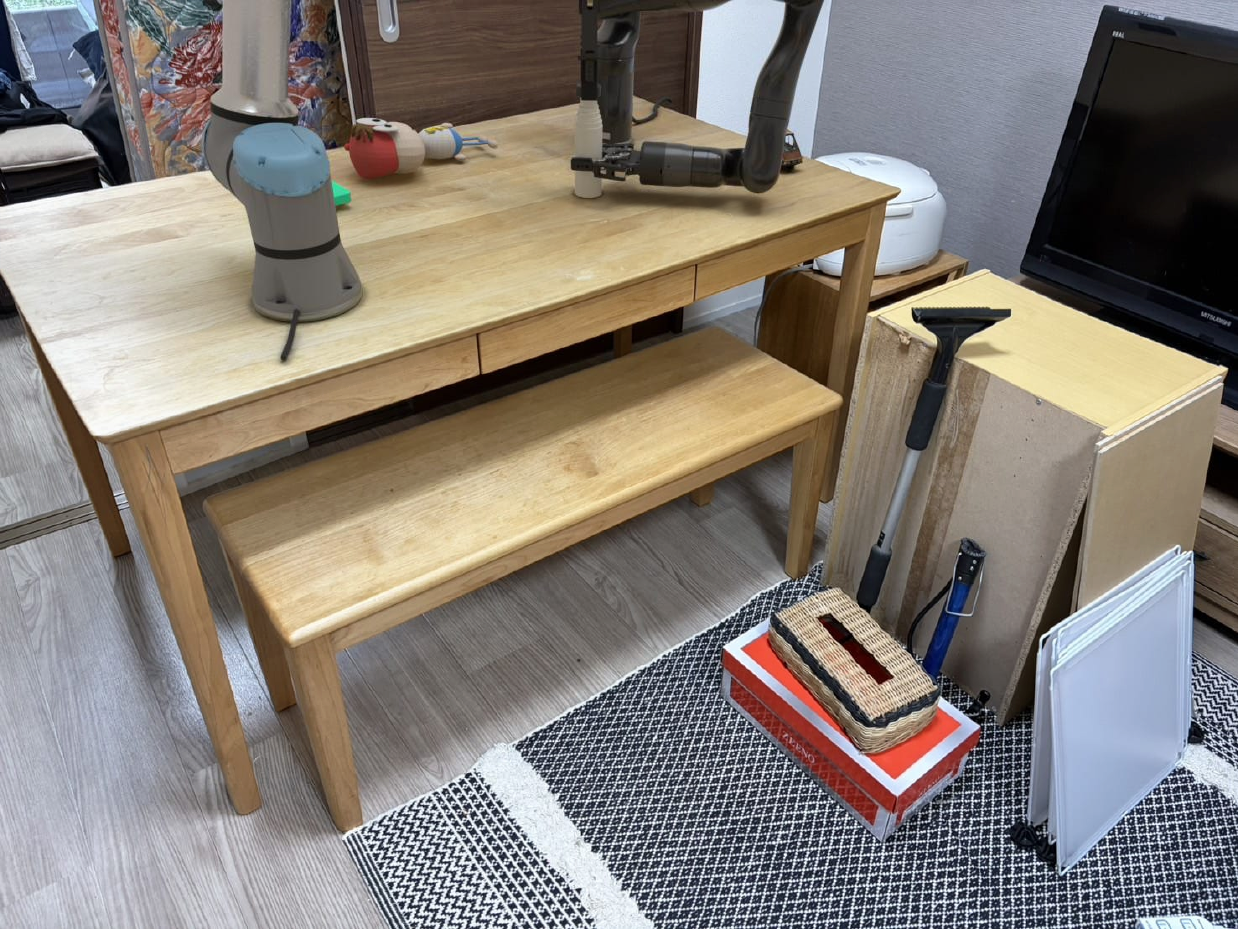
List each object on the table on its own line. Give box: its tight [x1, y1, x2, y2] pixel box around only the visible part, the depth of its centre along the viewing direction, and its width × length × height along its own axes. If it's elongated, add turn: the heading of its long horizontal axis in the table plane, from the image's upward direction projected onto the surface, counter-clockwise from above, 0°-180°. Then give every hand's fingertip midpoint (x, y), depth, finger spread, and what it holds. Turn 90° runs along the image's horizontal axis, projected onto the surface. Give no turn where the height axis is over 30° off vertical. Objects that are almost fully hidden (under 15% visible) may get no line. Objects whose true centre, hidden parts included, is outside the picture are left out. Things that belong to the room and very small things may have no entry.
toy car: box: [781, 128, 804, 172], centre depth 184 cm, size 6×12×7 cm, turn 39°
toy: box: [343, 117, 499, 180], centre depth 179 cm, size 18×10×30 cm
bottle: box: [574, 97, 603, 199], centre depth 166 cm, size 5×5×18 cm
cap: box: [575, 82, 601, 99], centre depth 160 cm, size 4×4×2 cm
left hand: (588, 93), depth 160 cm, fingers open, 6 cm apart
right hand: (574, 158), depth 168 cm, fingers closed on bottle, 5 cm apart
